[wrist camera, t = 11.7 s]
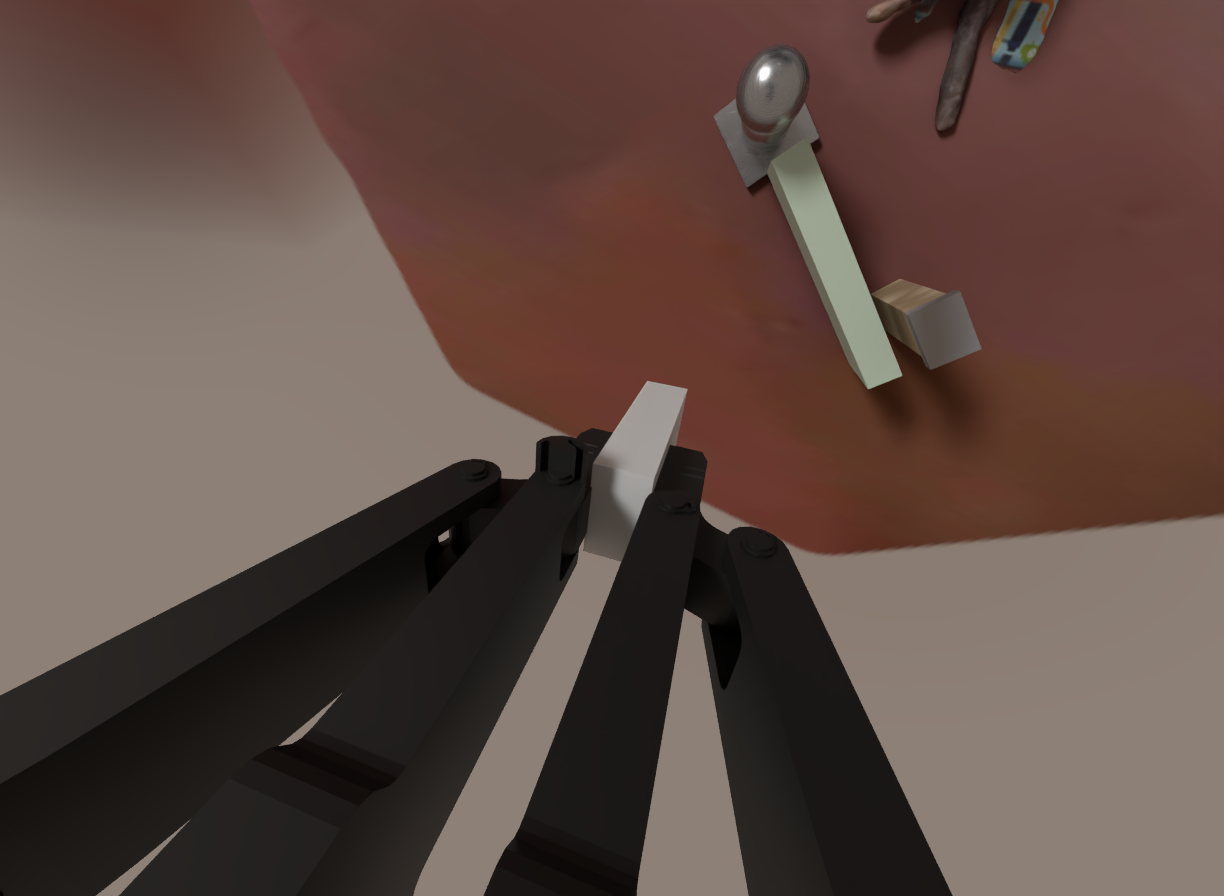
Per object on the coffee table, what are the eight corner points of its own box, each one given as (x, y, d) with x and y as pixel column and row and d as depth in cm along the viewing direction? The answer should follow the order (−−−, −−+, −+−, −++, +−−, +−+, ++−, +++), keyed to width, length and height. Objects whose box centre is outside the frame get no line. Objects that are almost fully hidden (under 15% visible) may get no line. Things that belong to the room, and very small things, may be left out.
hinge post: (785, 61, 28) (805, -26, 18) (818, 138, 29) (852, 95, 20) (714, 118, 30) (698, 66, 21) (746, 188, 31) (746, 170, 22)
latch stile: (902, 274, 31) (960, 291, 23) (919, 317, 32) (981, 348, 23) (866, 293, 32) (908, 315, 24) (883, 333, 33) (930, 369, 24)
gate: (766, 172, 30) (771, 160, 25) (796, 153, 29) (807, 136, 24) (849, 364, 34) (868, 389, 28) (877, 352, 33) (902, 375, 27)
